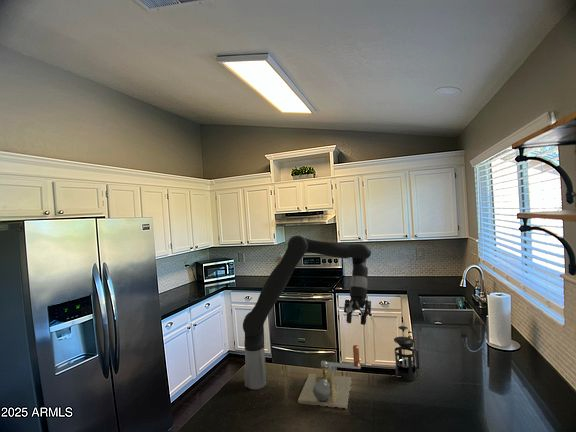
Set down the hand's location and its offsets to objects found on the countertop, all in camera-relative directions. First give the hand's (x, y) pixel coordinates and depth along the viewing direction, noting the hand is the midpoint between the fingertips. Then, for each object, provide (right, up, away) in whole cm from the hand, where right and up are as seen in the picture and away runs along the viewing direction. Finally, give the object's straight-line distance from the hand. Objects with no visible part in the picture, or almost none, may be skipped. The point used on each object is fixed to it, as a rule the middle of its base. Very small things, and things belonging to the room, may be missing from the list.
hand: (355, 323), depth 135 cm
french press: (+26, -27, +7) cm, 38 cm away
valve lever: (-8, -17, -5) cm, 19 cm away
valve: (-13, -29, -1) cm, 32 cm away
